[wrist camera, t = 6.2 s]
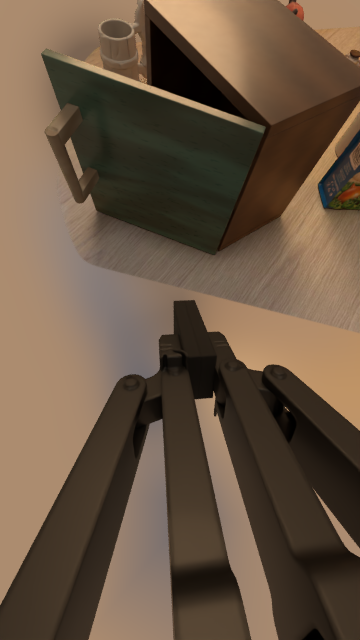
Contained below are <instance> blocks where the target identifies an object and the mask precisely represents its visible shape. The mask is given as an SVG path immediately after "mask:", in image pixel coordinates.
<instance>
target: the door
mask: <svg viewBox="0 0 360 640" xmlns="http://www.w3.org/2000/svg"><path fill="white" fill-rule="evenodd" d="M41 55H42V58H43V61H44V64H45V66H46V69H47V72H48V75H49V78H50V80H51V83H52V86H53V89H54V92H55V95H56V98H57V100H58V103H59V105H60V109H61V111H60V112H59V114H58V115H57V116H56V117H55V119H54V120H53V121H52V122H51V123H50V125H49V126H48V127H47V128H46V129H45V134H46V136H47V139H48V141H49V143H50V145H51V147H52V150H53V152H54V154H55V156H56V159H57V161H58V163H59V165H60V168H61V170H62V172H63V174H64V177H65V179H66V181H67V183H68V186H69V188H70V190H71V192H72V195H73V197H74V199H75V201H76V202H77V203H83V202H84V201H85V200H86V198H87V197H88V195H89V194H91V197H92V199H93V202H94V205H95V208H96V210H97V211H99V212H102V213H105V214H107V215H110V216H113V217H115V218H118V219H120V220H123V221H126V222H128V223H131V224H134V225H136V226H139V227H142V228H144V229H147V230H150V231H152V232H155V233H158V234H160V235H163V236H165V237H168V238H171V239H173V240H176V241H179V242H181V243H184V244H187V245H189V246H192V247H195V248H197V249H200V250H203V251H205V252H208V253H210V254H213V255H215V253H216V251H217V248H218V246H219V243H220V241H221V238H222V236H223V233H224V231H225V228H226V226H227V223H228V221H229V218H230V216H231V213H232V211H233V208H234V206H235V203H236V201H237V199H238V196H239V194H240V191H241V189H242V186H243V184H244V181H245V179H246V176H247V174H248V171H249V169H250V166H251V164H252V161H253V159H254V156H255V154H256V151H257V149H258V146H259V144H260V141H261V139H262V136H263V134H264V131H265V129H266V127H265V126H262V125H259V124H256V123H254V122H251V121H248V120H245V119H242V118H240V117H237V116H234V115H231V114H228V113H226V112H223V111H220V110H217V109H214V108H212V107H209V106H206V105H203V104H200V103H198V102H195V101H192V100H189V99H186V98H184V97H181V96H178V95H175V94H172V93H170V92H167V91H164V90H161V89H158V88H156V87H153V86H150V85H147V84H144V83H142V82H139V81H136V80H133V79H130V78H128V77H125V76H122V75H119V74H116V73H114V72H111V71H108V70H105V69H102V68H100V67H97V66H94V65H91V64H88V63H86V62H83V61H80V60H77V59H74V58H72V57H69V56H66V55H63V54H60V53H57V52H54V51H52V50H49V49H45V50H44V51H43V52H42V53H41ZM70 137H71V140H72V143H73V146H74V149H75V151H76V154H77V157H78V160H79V163H80V165H81V168H82V171H83V175H82V176H81V178H80V179H79V181H78V178H77V176H76V173H75V171H74V168H73V165H72V163H71V160H70V158H69V155H68V153H67V150H66V147H65V143H66V142H67V141H68V140H69V138H70Z"/></svg>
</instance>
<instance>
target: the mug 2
mask: <svg viewBox="0 0 360 640" xmlns="http://www.w3.org/2000/svg"><path fill="white" fill-rule="evenodd" d="M359 130H360V112H359V114H358V115H357V117H356V118H355V119H354V121H353V122H352V124H351V125H350V126H349V128H348V129H347V131H346V132H345V133H344V135H343V136H342V138H341V139H340V140H339V142H338V143H337V145H336V147H335V151H336V154H337V156H338V157H339V156H340V155H341V153H342V152H343V151H344V149H345V148H346V147H347V146H348V144H349V143H350V142H351V140H352V139H353V138H354V136H355V135H356V134H357V132H358V131H359Z"/></svg>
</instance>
